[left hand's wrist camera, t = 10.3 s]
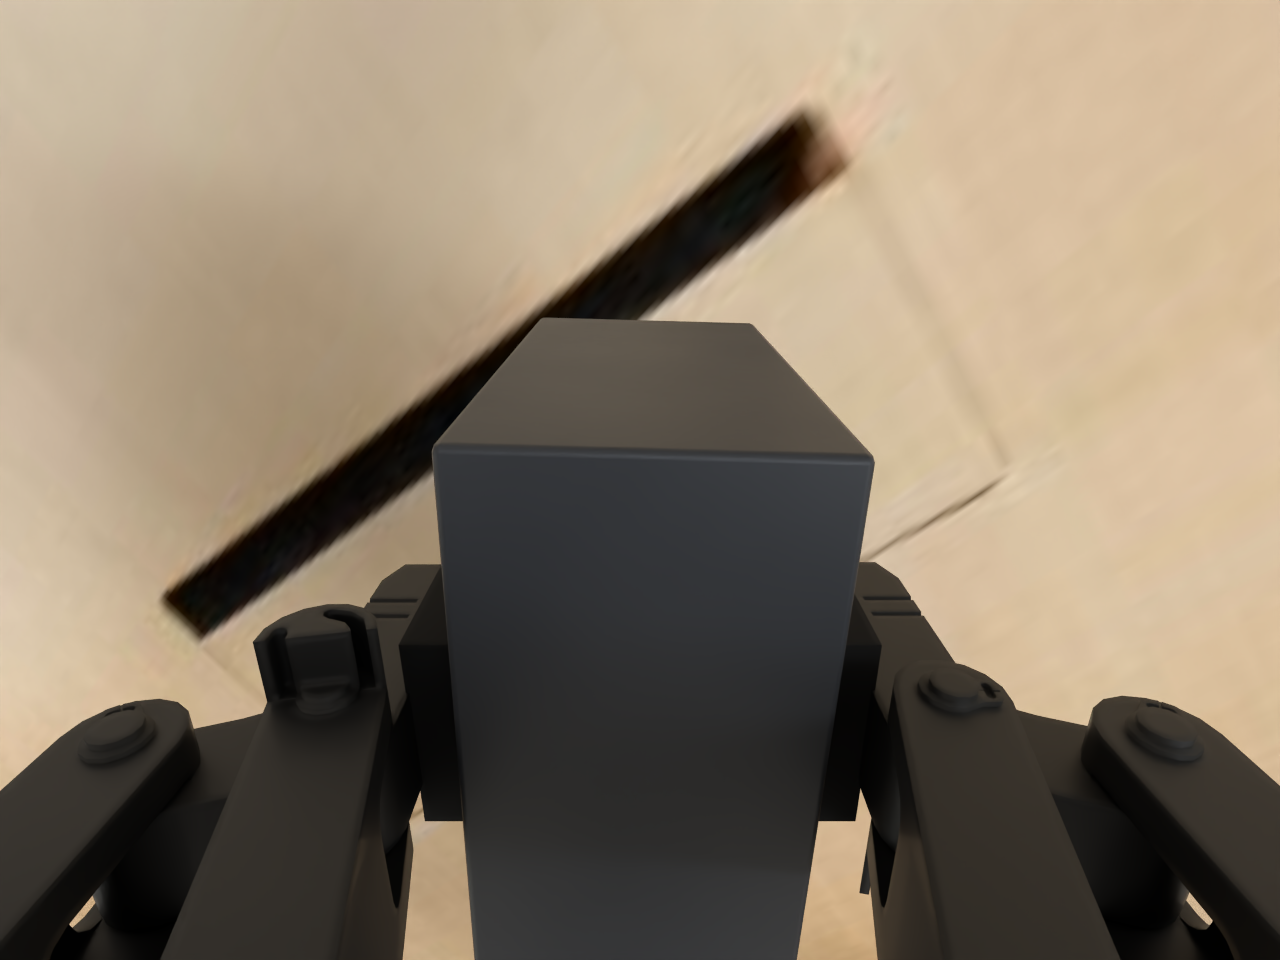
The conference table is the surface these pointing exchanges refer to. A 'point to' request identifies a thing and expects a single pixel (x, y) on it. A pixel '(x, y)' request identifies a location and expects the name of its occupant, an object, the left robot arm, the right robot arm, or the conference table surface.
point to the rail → (645, 638)
